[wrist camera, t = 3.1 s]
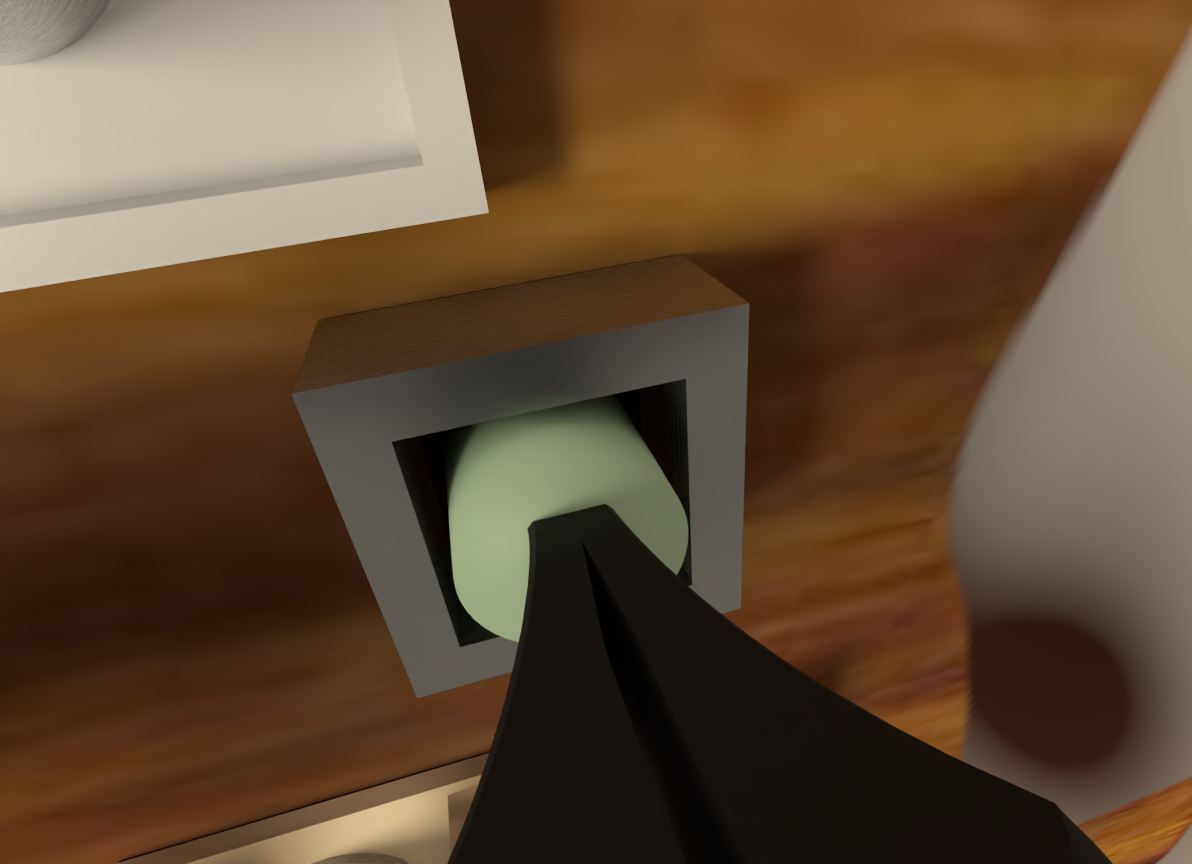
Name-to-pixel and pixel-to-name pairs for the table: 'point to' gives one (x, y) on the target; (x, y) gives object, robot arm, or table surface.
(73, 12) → the billet
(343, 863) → the seated billet
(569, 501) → the button
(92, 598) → the table surface
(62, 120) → the tray
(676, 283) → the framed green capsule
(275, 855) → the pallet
